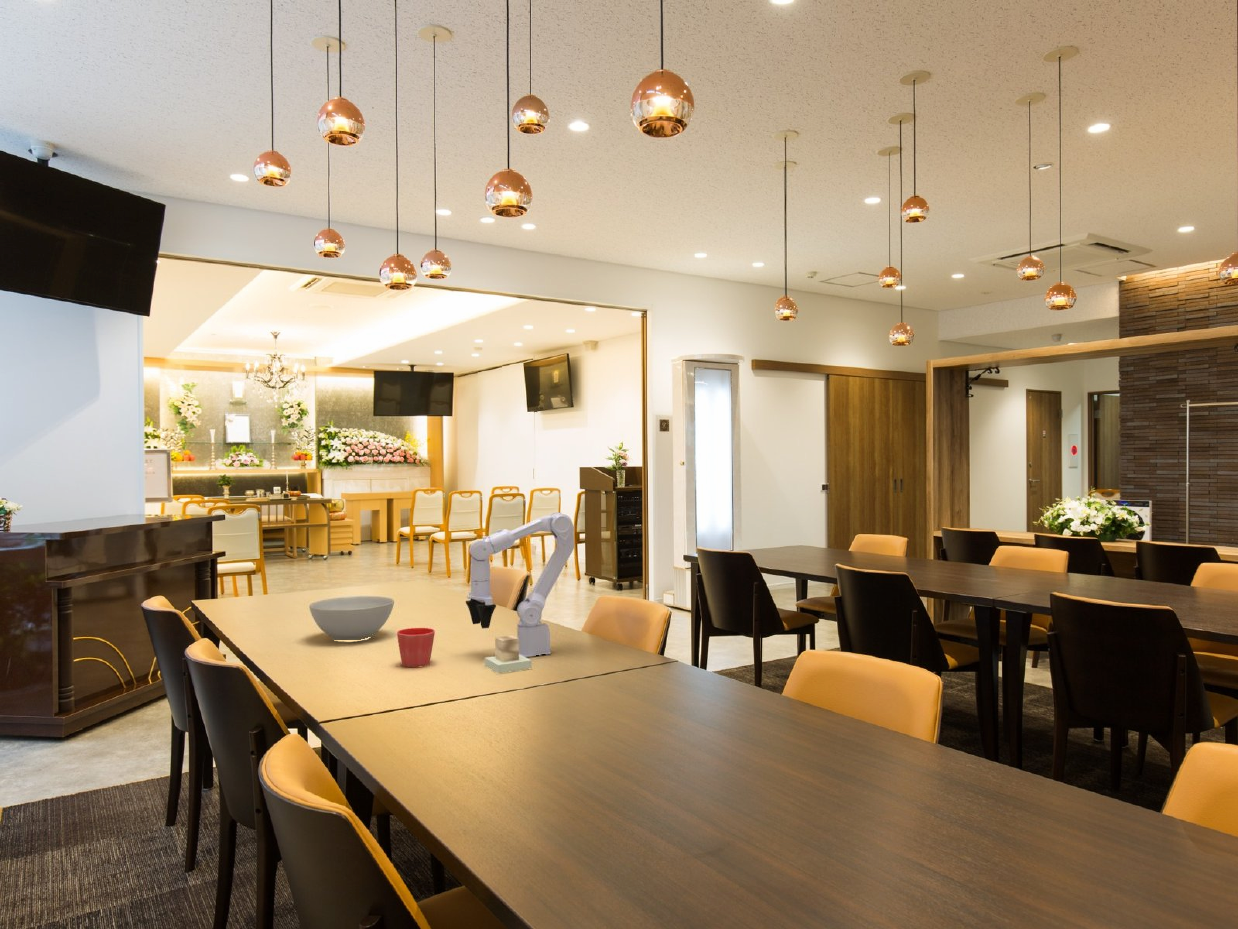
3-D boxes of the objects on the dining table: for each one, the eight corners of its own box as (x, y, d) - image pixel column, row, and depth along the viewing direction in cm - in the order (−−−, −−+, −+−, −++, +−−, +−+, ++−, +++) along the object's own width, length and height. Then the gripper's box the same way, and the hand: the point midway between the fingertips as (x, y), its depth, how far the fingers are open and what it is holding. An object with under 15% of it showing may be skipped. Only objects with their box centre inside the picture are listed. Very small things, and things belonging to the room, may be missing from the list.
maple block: (511, 656, 234) (511, 635, 234) (518, 659, 229) (518, 638, 229) (495, 658, 231) (495, 637, 231) (502, 662, 227) (502, 640, 227)
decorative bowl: (306, 635, 278) (306, 599, 278) (387, 628, 289) (387, 594, 289) (313, 651, 253) (312, 612, 253) (400, 642, 265) (400, 605, 265)
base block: (517, 663, 237) (517, 653, 237) (531, 671, 229) (531, 660, 229) (484, 668, 232) (484, 657, 232) (498, 676, 224) (498, 665, 224)
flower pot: (440, 660, 240) (439, 627, 240) (427, 669, 229) (427, 635, 229) (405, 659, 241) (405, 627, 241) (391, 669, 230) (391, 634, 230)
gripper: (459, 578, 247) (459, 623, 247) (476, 584, 235) (476, 631, 235) (481, 576, 251) (481, 620, 251) (499, 582, 238) (499, 628, 238)
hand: (480, 625), depth 243 cm, fingers open, 7 cm apart
